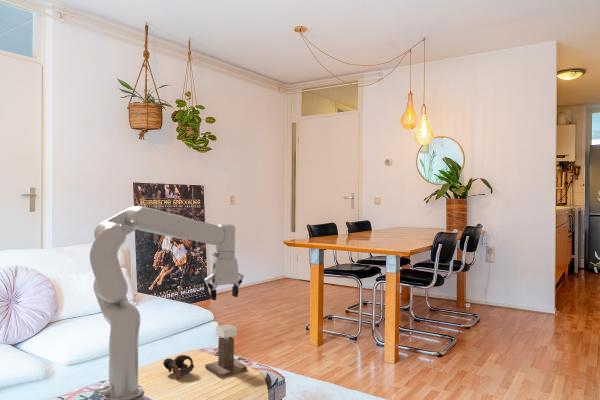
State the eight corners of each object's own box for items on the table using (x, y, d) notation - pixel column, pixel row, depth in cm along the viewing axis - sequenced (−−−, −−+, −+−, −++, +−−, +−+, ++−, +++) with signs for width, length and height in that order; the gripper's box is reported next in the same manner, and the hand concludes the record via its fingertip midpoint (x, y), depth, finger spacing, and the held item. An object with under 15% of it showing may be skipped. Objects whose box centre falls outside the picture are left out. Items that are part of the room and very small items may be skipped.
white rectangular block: (223, 368, 171) (223, 330, 171) (215, 364, 176) (216, 326, 175) (236, 365, 175) (236, 327, 175) (228, 360, 179) (229, 324, 179)
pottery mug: (194, 369, 176) (197, 355, 172) (187, 389, 168) (191, 374, 164) (165, 362, 175) (167, 347, 172) (156, 381, 167) (159, 366, 163)
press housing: (220, 378, 167) (220, 345, 167) (205, 368, 176) (205, 337, 176) (246, 370, 175) (247, 339, 174) (231, 361, 184) (231, 331, 184)
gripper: (210, 257, 167) (209, 302, 167) (248, 254, 178) (247, 297, 178) (201, 255, 172) (200, 299, 172) (239, 252, 183) (238, 293, 183)
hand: (224, 298), depth 175 cm, fingers open, 9 cm apart
